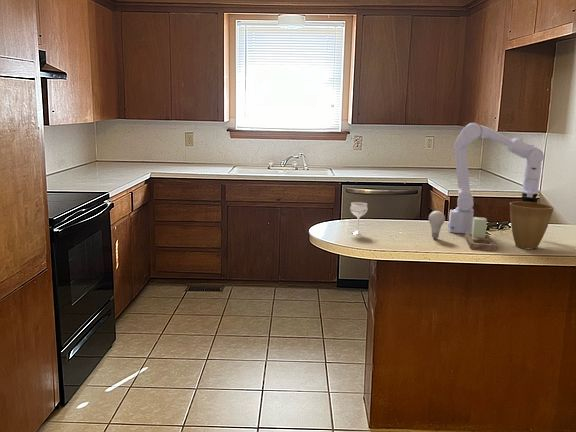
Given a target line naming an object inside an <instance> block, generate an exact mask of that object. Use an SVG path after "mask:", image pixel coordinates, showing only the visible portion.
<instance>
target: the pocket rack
mask: <svg viewBox="0 0 576 432" xmlns="http://www.w3.org/2000/svg"><path fill="white" fill-rule="evenodd" d="M471 235H472V233H464V239H465V242H466V243H467V245H468V247H469V249H470V250H478V249H480V250H479V251H491V250H492V251H494V252H495V251H496V248H497V247H496V244H495V242H494V241H493V239H492V238H491V236H490V235H489V233H488V234H487V233H486V234H485V238H473V237H471ZM492 251H491V252H492Z"/></svg>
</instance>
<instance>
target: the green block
mask: <svg viewBox="0 0 576 432" xmlns="http://www.w3.org/2000/svg"><path fill="white" fill-rule="evenodd" d="M487 224H488V219H487V218H486V217H482V216H481V217H479V216H478V217H477V216H473V224H472V235H471V237H473V238H485V234H487V232H486V231H487Z"/></svg>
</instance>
